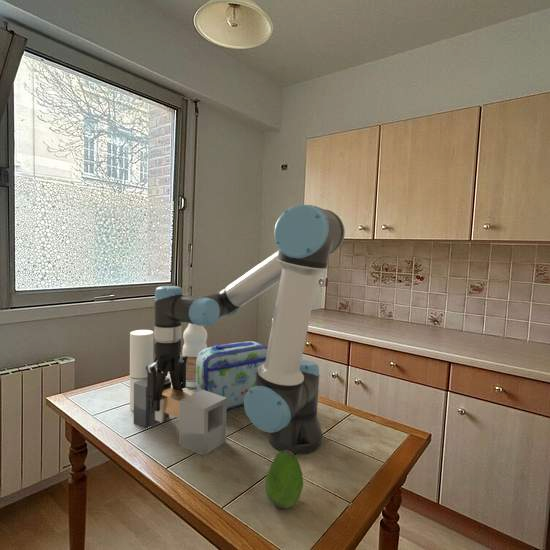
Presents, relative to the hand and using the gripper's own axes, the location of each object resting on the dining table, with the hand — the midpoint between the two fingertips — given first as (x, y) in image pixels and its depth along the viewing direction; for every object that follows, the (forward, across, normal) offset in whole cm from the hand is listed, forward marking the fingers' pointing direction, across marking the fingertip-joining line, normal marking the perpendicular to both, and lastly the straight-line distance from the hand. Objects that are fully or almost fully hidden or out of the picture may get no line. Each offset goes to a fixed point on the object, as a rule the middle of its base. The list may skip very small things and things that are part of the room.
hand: (167, 416), depth 109 cm
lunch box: (+4, -25, +5) cm, 26 cm away
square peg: (-2, 0, +3) cm, 3 cm away
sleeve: (+3, 0, +14) cm, 15 cm away
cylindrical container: (+3, -4, -17) cm, 18 cm away
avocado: (+4, +7, +45) cm, 46 cm away
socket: (+3, 0, -7) cm, 8 cm away
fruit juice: (+3, -29, -18) cm, 34 cm away
